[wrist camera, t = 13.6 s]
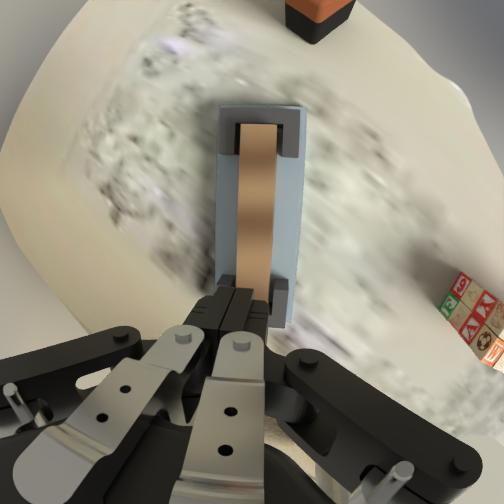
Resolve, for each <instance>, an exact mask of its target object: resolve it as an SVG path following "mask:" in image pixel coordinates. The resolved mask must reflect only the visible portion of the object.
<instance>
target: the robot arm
mask: <svg viewBox="0 0 504 504" xmlns="http://www.w3.org/2000/svg"><path fill="white" fill-rule="evenodd" d="M268 322H269V305H268V304H267V302H266V301H264V300H254V289H253V288H240V287H237V288H236V287H228V286H219V287H218V289H217V290H216V292H215V294H214V296H207V295H206V296H205V297H203V298H201V299H199V300H198V301H197V303H196V304H195V306H194V308H193V309H192V311H191V312H190V314H189V315H188V317H187V318H186V320H185V321H184V323H183V324H182V325H177V326H174V327H171V328H169V329H167V330H166V331H165V332H164V333H163V334H162V336H161V337H160V338H159V339H158V340H141V335H140V332H139V331H138V330H137V329H136V328H133V327H130V326H118V327H114V328H111V329H107V330H104V331H101V332H98V333H94V334H91V335H88V336H84V337H81V338H78V339H74V340H71V341H67V342H64V343H60V344H57V345H53V346H50V347H46V348H43V349H39V350H36V351H32V352H28V353H24V354H21V355H17V356H13V357H9V358H5V359H2V360H0V504H450V503H451V502H453V501H454V500H455V499H456V498H458V497H459V496H460V495H461V494H462V493H464V492H465V491H466V490H467V489H468V488H469V487H471V486H472V485H473V484H474V483H475V482H476V481H477V480H478V479H479V477H480V475H481V472H482V468H483V465H482V459H481V457H480V455H479V453H478V452H477V451H476V450H475V449H474V448H472V447H470V446H469V445H467V444H465V443H463V442H462V441H460V440H458V439H456V438H455V437H453V436H451V435H450V434H448V433H446V432H444V431H443V430H441V429H439V428H438V427H436V426H434V425H433V424H431V423H429V422H428V421H426V420H425V419H423V418H421V417H420V416H418V415H416V414H415V413H413V412H412V411H410V410H408V409H407V408H405V407H404V406H402V405H401V404H399V403H397V402H396V401H394V400H393V399H391V398H390V397H388V396H387V395H385V394H383V393H382V392H380V391H379V390H377V389H376V388H374V387H373V386H371V385H370V384H368V383H367V382H365V381H364V380H362V379H361V378H359V377H358V376H356V375H355V374H353V373H352V372H350V371H349V370H347V369H346V368H344V367H343V366H341V365H340V364H339V363H337V362H336V361H334V360H333V359H331V358H330V357H328V356H327V355H326V354H324V353H322V352H320V351H317V350H314V349H297V350H294V351H292V352H290V353H289V354H288V355H287V356H286V357H285V356H282V355H279V354H276V353H274V352H273V351H271V350H270V349H269V348H268V347H267V346H266V344H267V335H268ZM108 367H110V369H111V372H110V373H109V374H108V375H107V376H106V378H105V379H104V380H103V381H102V382H101V383H100V384H99V385H97V386H94V387H91V388H88V389H85V390H81V389H78V388H77V387H76V386H75V384H76V381H77V379H78V378H80V377H82V376H84V375H87V374H90V373H94V372H96V371H99V370H102V369H105V368H108ZM264 414H265V415H268V416H270V417H273V418H276V419H277V423H278V425H279V427H280V428H281V429H282V430H283V431H284V432H285V433H286V434H287V435H288V436H289V437H290V438H291V439H292V440H293V441H294V442H295V443H296V444H297V445H298V446H299V447H300V448H301V449H302V450H303V451H304V452H305V453H306V454H307V455H308V456H309V457H310V458H312V459H313V460H314V461H315V472H316V483H315V482H314V481H313V480H312V479H311V478H310V477H309V476H308V475H307V474H306V473H305V472H304V471H303V470H302V469H301V468H300V466H299V465H298V464H297V463H296V462H295V461H294V460H292V459H291V458H290V457H289V456H288V455H286V454H285V453H283V452H282V451H280V450H278V449H276V448H274V447H272V446H270V445H268V444H265V443H264Z"/></svg>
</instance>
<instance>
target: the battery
mask: <svg viewBox="0 0 504 504" xmlns="http://www.w3.org/2000/svg"><path fill="white" fill-rule="evenodd" d="M355 1H356V0H285V17H286V26H287V27H288V28H289V29H291V30H292V31H294V32H295V33H297V34H298V35H299V36H301V37H302V38H304V39H305V40H306V41H308V42H309V43H310V44H313V45H314V44H316V43H318V42H319V41H320V40H321V39H323V38H324V37H325V36H326V35H328V34H329V33H330V32H331V31H333V30H334V29H335V28H337V27H338V26H339V25H341V24H342V23H343V22H345V21H346V20H347V19H348V18H349V15H350V13H351V11H352V8H353V6H354V4H355Z"/></svg>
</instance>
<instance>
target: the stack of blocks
mask: <svg viewBox="0 0 504 504" xmlns="http://www.w3.org/2000/svg"><path fill="white" fill-rule="evenodd" d="M439 311H440V313H441V314H442V315H443V316H444V317H445V319H446V320H447V321H449V322H450V323H451V325H452V326H453V327H454V328H455V329H456V330H457V331H458V334H459V335H460V336H461V337H462V339H463V340H464V341H465V342H466V343H467V345H468V346H469V347H470V348H471V349H472V351H473V352H474V353H475V355H476V356H477V357H478V359H479V360H480V361H481V362H483V363H485V364H487V365H490V366H492V367H493V368H494V369H497V370H499V371H502V372H503V373H504V304H503V303H502V302H501V301H499V300H498V299H497V298H496V297H494V296H493V295H492V294H491V293H489V292H488V291H487V290H485V289H483V288H482V287H481V286H480V285H479V284H477V283H476V282H475V281H474V280H472V279H471V278H470V277H468V276H467V275H465V274H464V273H463V272H461V273H460V275H459V277H458V279H457V280H456V282H455V284H454V285H453V287H452V289H451V290H450V292H449V294H448V296H447V297H446V299H445V300H444V302H443V303H442V305H441V307H440V308H439Z"/></svg>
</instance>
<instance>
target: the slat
mask: <svg viewBox="0 0 504 504" xmlns="http://www.w3.org/2000/svg"><path fill="white" fill-rule="evenodd" d="M277 143H278V130H277V125H272V124H241V134H240V160H239V190H238V225H237V267H236V288H237V287H240V288H253V289H254V300H264V301H266V302H267V304H268V303H269V292H270V277H271V261H272V245H273V227H274V209H275V189H276V167H277Z"/></svg>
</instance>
